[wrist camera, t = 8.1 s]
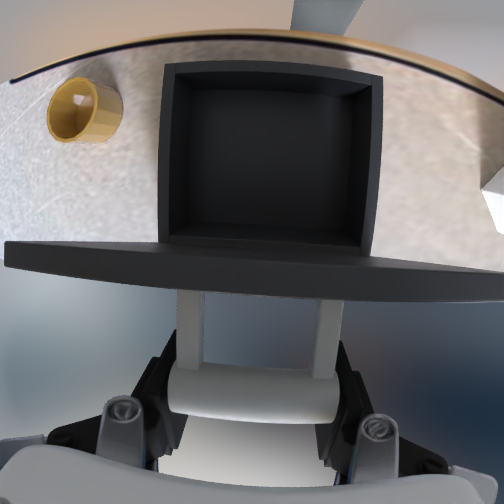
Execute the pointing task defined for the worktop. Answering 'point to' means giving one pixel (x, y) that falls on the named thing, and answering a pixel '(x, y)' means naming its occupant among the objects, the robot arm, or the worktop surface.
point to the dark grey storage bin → (269, 156)
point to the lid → (256, 284)
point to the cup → (84, 112)
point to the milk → (496, 199)
